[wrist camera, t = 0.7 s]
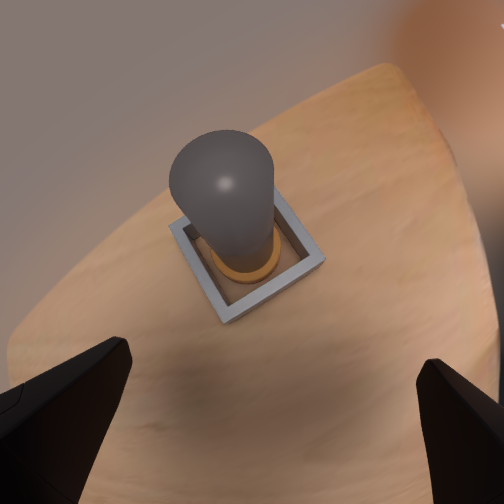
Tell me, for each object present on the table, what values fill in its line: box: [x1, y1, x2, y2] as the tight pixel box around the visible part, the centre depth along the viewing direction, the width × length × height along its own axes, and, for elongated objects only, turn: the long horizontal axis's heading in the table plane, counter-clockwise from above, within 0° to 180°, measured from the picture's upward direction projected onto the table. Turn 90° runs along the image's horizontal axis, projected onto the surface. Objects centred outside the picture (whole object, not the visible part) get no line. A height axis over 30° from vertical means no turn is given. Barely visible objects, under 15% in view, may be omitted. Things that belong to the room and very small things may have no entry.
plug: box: [169, 130, 281, 284], centre depth 16 cm, size 5×5×12 cm
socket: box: [169, 186, 326, 324], centre depth 21 cm, size 8×8×3 cm
